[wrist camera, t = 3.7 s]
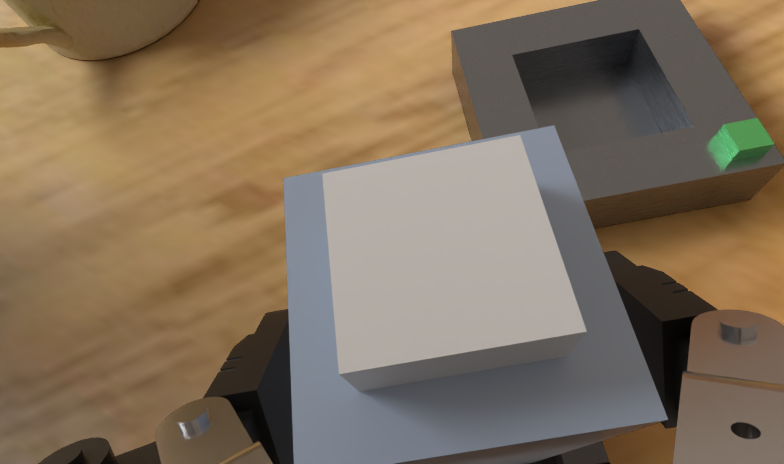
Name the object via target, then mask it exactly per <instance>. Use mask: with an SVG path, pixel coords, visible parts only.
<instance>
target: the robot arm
mask: <svg viewBox="0 0 784 464" xmlns="http://www.w3.org/2000/svg"><path fill="white" fill-rule="evenodd" d="M604 255H605V258H606V260H607V263H608V265H609V268H610V271H611V273H612V276H613V278H614V281H615V283H616V286H617V289H618V291H619V294H620V296H621V299H622V302H623V304H624V307H625V309H626V312H627V314H628V317H629V320H630V322H631V325H632V327H633V330H634V332H635V335H636V338H637V340H638V343H639V345H640V348H641V351H642V353H643V356H644V358H645V361H646V363H647V366H648V369H649V371H650V374H651V376H652V379H653V381H654V384H655V387H656V389H657V392H658V394H659V397H660V400H661V402H662V405H663V407H664V410H665V412H666V415H667V418H668V420H665V421H662V422H661V423H662V424H663V426H664V427H665V428H672V427H677V429H676V438H675V447H674V457H673V464H784V326H783V325H782V324H780V323H779V322H777V321H776V320H774V319H772V318H770V317H767V316H764V315H761V314H758V313H754V312H749V311H742V310H718V309H716V308H715V307H713V306H712V305H710V304H709V303H707V302H706V301H704V300H703V299H701V298H700V297H699V296H697V295H696V294H694V293H693V292H691V291H688V289H687V288H685V287H684V286H683V285H681V284H680V283H676V281H675V280H674V279H672V278H671V277H669V276H668V275H667V274H665V273H664V272H662V271H658V270H655V269H652V268H649V267H646V266H643V265H642V266H636V265H635V264H633V263H632V262H631V261H629V260H628V259H627V258H625V257H624V256H623V255H621V254H620V253H618V252H617V251H610V252H604ZM220 370H221V372H219V373H218V374H217V376H216V378H215V379H214V381H213V383H212V384H211V386H210V388H209V389H208V391H207V393H206V394H205V396H204V397H203V398H202V399H199V400H196V401H193V402H191V403H188V404H186V405H184V406H182V407H181V408H179V409H177V410H176V411H174V412H173V413H171V414H170V415H169V416H168V417H167V418H165V420H164V421H163V422H162V423H161V424H160V425H159V427H158V429H157V431H156V434H155V440H156V441H155V442H153V443H151V444H148V445H145V446H143V447H140V448H137V449H134V450H132V451H129V452H126V453H124V454H121V455H118V456H116V457H115V456H114V453H113V451H112V449H111V447H110V444H109V442H108V441H107V440H106V439H103V438H89V439H84V440H81V441H78V442H75V443H72V444H70V445H68V446H66V447H63V448H62V449H60V450H58V451H56V452H54V453H53V454H51V455H50V456H48V457H47V458H45V459H44V460H42V461H41V462H40V463H39V464H294V454H293V426H292V399H291V371H290V343H289V316H288V309H285V310H279V311H274V312H268V313H266V314H265V316H264V317H263V319H262V321H261V323H260V325H259V326H258V328H257V330H256V332H255V334H251V335H248V336H246V337H245V338H244V339H243V340H242V341H241V342H239V343H238V344H237V345H236V346H235V347H234V348H233V349H232V351H231V353H230V354H229V356H228V358H227V362H225V363H224V364H223V366H222V368H221V369H220ZM599 464H610V462H605V463H599Z"/></svg>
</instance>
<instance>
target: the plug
mask: <svg viewBox="0 0 784 464" xmlns="http://www.w3.org/2000/svg"><path fill="white" fill-rule="evenodd" d="M284 205H285V233H286V260H287V288H288V316H289V343H290V371H291V399H292V426H293V454H294V464H530V463H534V462H537V461H540V460H543V459H546V458H549V457H552V456H556V455H559V454H562V453H565V452H568V451H571V450H574V449H578V448H581V447H584V446H587V445H590V444H593V443H596V442H599V441H603V440H606V439H609V438H612V437H615V436H618V435H621V434H625V433H628V432H631V431H634V430H637V429H640V428H643V427H646V426H650V425H653V424H656V423H659V422H662V421H665V420H668V418H667V415H666V412H665V410H664V407H663V405H662V402H661V400H660V397H659V394H658V392H657V389H656V387H655V384H654V381H653V379H652V376H651V374H650V371H649V369H648V366H647V363H646V361H645V358H644V356H643V353H642V351H641V348H640V345H639V343H638V340H637V338H636V335H635V332H634V330H633V327H632V325H631V322H630V320H629V317H628V314H627V312H626V309H625V307H624V304H623V302H622V299H621V296H620V294H619V291H618V289H617V286H616V283H615V281H614V278H613V276H612V273H611V271H610V268H609V265H608V263H607V260H606V258H605V255H604V253H603V250H602V247H601V245H600V242H599V240H598V237H597V235H596V232H595V229H594V227H593V224H592V222H591V219H590V216H589V214H588V211H587V209H586V206H585V204H584V201H583V198H582V196H581V193H580V191H579V188H578V186H577V183H576V180H575V178H574V175H573V173H572V170H571V167H570V165H569V162H568V160H567V157H566V155H565V152H564V149H563V147H562V144H561V142H560V139H559V137H558V134H557V131H556V129H555V126H554V125H553V126H548V127H543V128H538V129H533V130H527V131H522V132H517V133H512V134H507V135H502V136H497V137H492V138H487V139H481V140H476V141H471V142H466V143H461V144H456V145H451V146H446V147H441V148H436V149H430V150H425V151H420V152H415V153H410V154H405V155H400V156H395V157H390V158H384V159H379V160H374V161H369V162H364V163H359V164H354V165H349V166H344V167H339V168H333V169H328V170H323V171H318V172H313V173H308V174H303V175H298V176H293V177H287V178H284Z"/></svg>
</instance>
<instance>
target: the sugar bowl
mask: <svg viewBox="0 0 784 464" xmlns="http://www.w3.org/2000/svg"><path fill="white" fill-rule="evenodd" d="M4 1H5V2H6V3H7V4H8V5H9V6H10V7H11V8H12V9H13V10H14V11H15V12H16V13H17V15H18V16H19V17H20V18H21V19H22V20H23V21H24V22H25V23H26V24H27V25H28V26H29V27H16V28H4V29H0V47H23V46H29V45H33V44H40V43H45V44H47V45H48V46H49V47H50V48H52V49H53V50H54V51H56V52H57V53H59V54H61V55H63V56H66V57H68V58H73V59H78V60H101V59H108V58H113V57H117V56H121V55H124V54H128V53H131V52H134V51H136V50H139V49H141V48H143V47H145V46H147V45H149V44H151V43H153V42H155V41H157V40H158V39H160V38H162V37H163V36H165V35H166V34H168V33H169V32H170V31H172V30H173V29H174V28H175V27H177V26H178V25H179V24H180V23H181V22H182V21H183V20H184V19H185V18H186V17H187V16H188V15H189V14H190V13H191V11H192V10H193V8H194V7H195V5H196V4H197V2H198V0H4Z"/></svg>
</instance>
